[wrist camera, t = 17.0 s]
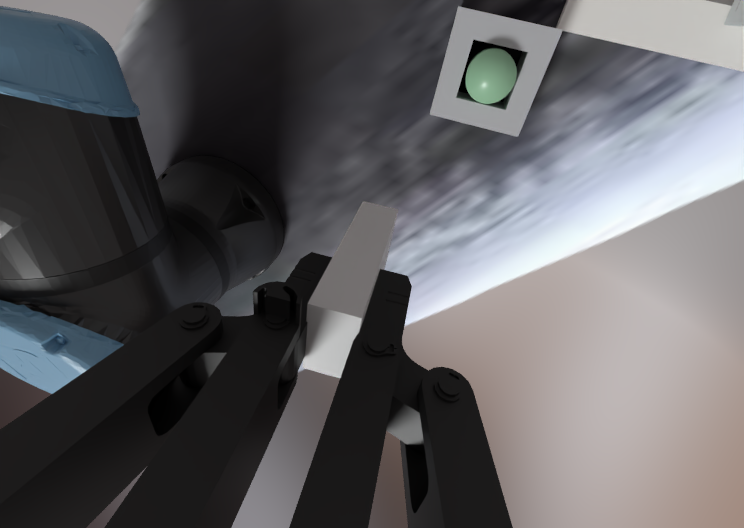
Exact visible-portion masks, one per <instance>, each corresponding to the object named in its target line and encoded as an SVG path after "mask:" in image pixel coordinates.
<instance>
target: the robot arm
mask: <svg viewBox="0 0 744 528" xmlns="http://www.w3.org/2000/svg"><path fill="white" fill-rule="evenodd" d="M138 115H140V112H139V108H138V106H137V105H136V104H135V103H134V102H133V101H132V98H131V95H130V93H129V90H128V87H127V84H126V82H125V79H124V76H123V73H122V71H121V68H120V65H119V62H118V60H117V57H116V55H115V53H114V51H113V49H112V48H111V46H110V45H109V43H108V42H107V41H106V40H105V39H104V38H103V37H102V36H101V35H100V34H99V33H97V32H96V31H95V30H93V29H92V28H90V27H89V26H86V25H85V24H83V23H80V22H78V21H75V20H71V19H67V18H63V17H58V16H53V15H49V14H43V13H38V12H33V11H27V10H21V9H16V8H10V7H3V6H0V368H2V369H4V370H5V371H7V372H9V373H10V374H12V375H14V376H16V377H17V378H19V379H21V380H24V381H25V382H27V383H29V384H31V385H33V386H35V387H38V388H40V389H42V390H44V391H47V392H49V393H52V395H50V396H49V397H47V398H46V399H44V400H43V401H41V402H40V403H38V404H37V405H35V406H34V407H33V408H31V409H30V410H28V411H27V412H25V413H24V414H23V415H21V416H20V417H18V418H17V419H15V420H14V421H12V422H11V423H9V424H8V425H6V426H5V427H3V428H2V429H0V528H86V527H87V526H88V525H89V524H90V523H91V522H92V521H93V520H94V519H95V518H96V517H97V516H98V515H99V514H100V513H101V512H102V511H103V510H104V509H105V508H106V507H107V506H108V505H109V504H110V503H111V502H112V501H113V500H114V499H115V498H116V497H117V496H118V495H119V494H120V493H121V492H122V491H123V490H124V489H125V488H126V487H127V486H128V485H129V484H130V483H131V482H132V481H133V479H135V478H136V477H137V476H138V475H139V474H140V473H141V472H142V471H143V470H144V469H145V468H146V467H147V468H146V469H145V471H144V472H143V473H142V475H141V476H140V478H139V479H138V481H137V482H136V483H135V485H134V486H133V488H132V489H131V491H130V492H129V493H128V495H127V496H126V498H125V499H124V501H123V502H122V504H121V505H120V506H119V508H118V509H117V511H116V512H115V514H114V515H113V516H112V518H111V519H110V521H109V522H108V523H107V525H106V526H105V528H231V527H232V525H233V522H234V520H235V518H236V515H237V513H238V511H239V509H240V507H241V504H242V502H243V500H244V498H245V496H246V493H247V491H248V489H249V487H250V485H251V482H252V480H253V478H254V476H255V473H256V471H257V469H258V466H259V464H260V462H261V460H262V458H263V456H264V454H265V451H266V449H267V447H268V444H269V442H270V440H271V438H272V436H273V433H274V431H275V429H276V427H277V425H278V422H279V420H280V418H281V416H282V413H283V411H284V409H285V407H286V405H287V402H288V400H289V398H290V396H291V393H292V391H293V389H294V387H295V385H296V381H297V376H298V369H299V367H300V365H301V363H302V361H303V368H305V369H309V370H313V371H316V372H320V373H323V374H327V375H330V376H334V377H337V378H340V381H339V384H338V387H337V390H336V393H335V396H334V398H333V402H332V404H331V407H330V410H329V413H328V416H327V419H326V422H325V425H324V428H323V431H322V434H321V436H320V440H319V442H318V445H317V448H316V451H315V454H314V457H313V460H312V463H311V466H310V469H309V472H308V475H307V478H306V481H305V483H304V486H303V490H302V492H301V495H300V498H299V501H298V504H297V507H296V510H295V513H294V515H293V519H292V522H291V524H290V527H289V528H368V525H369V519H370V514H371V509H372V503H373V498H374V492H375V487H376V482H377V476H378V471H379V466H380V461H381V455H382V450H383V445H384V439H385V434H386V431H388V432H390V433H391V434H393V435H394V436H395V437H397V438H398V439H400V444H401V455H402V466H403V477H404V487H405V499H406V510H407V520H408V528H513V527H512V524H511V521H510V517H509V513H508V510H507V507H506V503H505V500H504V496H503V493H502V489H501V486H500V482H499V479H498V475H497V472H496V468H495V465H494V462H493V458H492V455H491V451H490V448H489V444H488V441H487V437H486V434H485V431H484V427H483V423H482V420H481V417H480V413H479V410H478V406H477V403H476V399H475V396H474V393H473V390H472V388H471V386H470V384H469V382H468V381H467V380H466V379H465V378H464V377H463V376H462V375H461V374H460V373H458V372H456V371H454V370H453V369H449V368H445V367H437V368H433V369H431V370H429V371H428V370H426V369H424V368H423V367H421V366H420V365H418V364H417V363H415V362H414V361H412V360H411V359H410V358H409V357H408V356H407V354H406V353H405V351H404V349H403V346H402V335H403V330H404V324H405V319H406V314H407V308H408V303H409V297H410V293H411V287H412V286H411V284H410V281H409V278H408V276H406V275H402V274H398V273H394V272H390V271H386V270H384V268H385V265H386V261H387V257H388V252H389V248H390V244H391V239H392V235H393V230H394V226H395V222H396V217H397V213H398V209H394V208H390V207H386V206H381V205H377V204H373V203H369V202H365V201H363V202H362V204H361V206H360V208H359V209H358V211H357V213H356V215H355V217H354V219H353V220H352V222H351V224H350V226H349V228H348V230H347V232H346V233H345V235H344V237H343V239H342V241H341V243H340V245H339V246H338V248H337V250H336V252H335V254H334V256H333V257H328V256H324V255H320V254H316V253H312V252H311V253H310V254H308V255H306V256H305V257H303V258H301V259H300V261H299V262H298V264H297V265H296V267H295V269H294V270H293V271H292V273H291V274H290V277H288V279H287V280H286V282H269V283H265V284H263V285H261V286H259V287H257V288H256V289H255V290H254V291H253V303H254V314H253V315H250V316H241V317H235V316H221V313H220V310H219V309H218V308H217V307H215V306H214V304H215V303H216V302H217V301H218V300H219V299H220V298H221V297H222V296H223V294H224V293H225V292H226V291H228V290H230V289H232V288H234V287H236V286H237V285H239V284H241V283H243V282H245V281H247V280H250V279H253V278H255V277H257V276H259V275H260V274H262V273H263V272H264V271H266V270H267V269H268V268H269V266H270V265H271V264H272V263H273V262H274V260H275V259H276V258H277V257H278V255H279V253H280V251H281V248H282V245H283V239H284V230H283V223H282V219H281V216H280V213H279V211H278V208H277V206H276V204H275V202H274V201H273V199H272V197H271V196H270V195H269V193H268V192H267V190H266V189H265V188H264V187H263V186H262V185H261V183H260V182H259V181H258V180H257V179H255V178H254V177H253V176H252V175H251V174H250V173H248V172H247V171H245V170H244V169H243V168H241V167H239V166H238V165H236V164H234V163H232V162H230V161H227V160H225V159H221V158H218V157H213V156H194V157H190V158H187V159H185V160H183V161H181V162H179V163H176V164H174V165H173V166H171V167H169V168H168V169H167V170H165V171H164V172H163V173H162V174H161V175H160V177H159V178H158V179H157V180H156V176H155V173H154V170H153V167H152V164H151V160H150V157H149V154H148V151H147V147H146V144H145V141H144V138H143V135H142V131H141V128H140V125H139V122H138V118H137V116H138Z"/></svg>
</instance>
